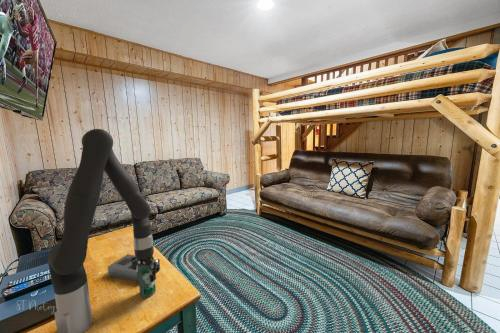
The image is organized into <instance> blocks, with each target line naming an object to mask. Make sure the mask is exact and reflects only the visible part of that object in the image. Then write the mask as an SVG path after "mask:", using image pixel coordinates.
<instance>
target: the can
mask: <svg viewBox="0 0 500 333" xmlns="http://www.w3.org/2000/svg"><path fill="white" fill-rule="evenodd" d="M147 266H149V268H150V267H152V266H153V263H151V264H150V265H145V266H144V265H143V264H137V267H138V278H139V283H138V287H139V296H140V297H141V298H142V299H146V298H151V297H152V296H154V294H155V293H156V291H157V290H156V280H155V281H153V282H151V281H150V273H149V271H147ZM151 270H152V271H153V269H151Z"/></svg>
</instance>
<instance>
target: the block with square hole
mask: <svg viewBox="0 0 500 333" xmlns="http://www.w3.org/2000/svg"><path fill="white" fill-rule="evenodd" d="M134 255H135V254H134ZM134 255H133V254H128V253H127V254H126V255H124V256H122V257H120V258H119V259H118V260H116V261H115V262H114V261H113V263H111V264H109V265H108V266H107V273H108V276H109V277H113V278H116V279H120V280H121V279H122V280H124V281H128V282H132V283H133V282H134V283H138V284H139V279H138V276H137V272H136V270H133V267H132V262H131V257H133V256H134ZM135 266H136V264H135ZM160 270H161V265H160V266H159V271H160Z"/></svg>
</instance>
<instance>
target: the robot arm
mask: <svg viewBox="0 0 500 333" xmlns="http://www.w3.org/2000/svg"><path fill="white" fill-rule="evenodd" d="M81 146H82V149H81V157H80V162H79V164H78V165H79V166H78V168H77V170H76V172H75V174H74V176H73V178H72V180H71V183H70V185H69V188H68V191H67V195H66V198H65V202H64V203H65V204H64V208H63V212H64V213H63V232H62V237H61V240H60V242H58V243H56V244H55V245H54V246H53V247H51V249H50V251H49V253H48V255H47V261H48V262H47V264H48V269H49V274H50V281H51V284H52V288H53V293H54V300H55V306H56V311H55V312H54V313H53V314H54V320H55V325H56V332H57V333H85V332H86V331H87V330H88V329H89V328H90V327H91V326H92V324H93V321H94V320H93V314H92V303H91V298H90V290H89V282H88V274H87V272H86V269H85V266H84V263H85V260H86V258H87V252H88V251H87V250H88V244H89V235H90V233H91V232H90V231H91V228H92V224H93V221H94V219H95V214H96V211H97V206H98V204H99V200H100V196H101V191H102V186H103V180H104V173H105V175H107V177H108V179H109V180H110V182H111V184H112V185H113V187H114V188H115V190H116V191H117V193H118V194H119V196H120V198H121V199H122V200H123V201H124V202H125V205H126V207H127V208H128V209H129V212H130V215H131V219H132V220H131V221H132V225H133V226H132V232H133V234H132V235H133V249H134V250H133V252H134V256H133V257H131V262H132V267H133V270H136V272H137V276H138V267H137V264H143V265H144V266H145V265H150V264H151V263H153V266H152V267H150V268H149V266H147V271H149V273H150V281H151V282H153V281H155V282H156V279H157V276H156V275H157V274H158V273H159V272H160V270H159V266H160V267H161V263H160V262H161V261H160V259H159V258H157V259H155V258H154V252H155V248H154V237H153V234H152V225H151V222H150V214H151V210H152V209H151V205H150V204H149V203H148V202H147V201H146V199H145V197H144V196H143V194H142V193H141V191H140V189H139V187H138V186H137V184H136V182H135V181H134V179H133V177H132V176H131V174H130V173H129V172H128V171H127V170H126V168H125V167H124V166H123V165H122V164H121V162H120V161H119V159H118V157H117V156H116V154H115V152H114V150H113V146H114V138H113V137H112V135H111V133H110V132H108V131H107V130H105V129H102V128H94V129H90V130H88V131H86V132H85V133H84V134H83V135H82V138H81ZM135 264H136V266H135ZM151 269H153V271H152V270H151ZM138 279H139V278H138Z"/></svg>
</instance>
